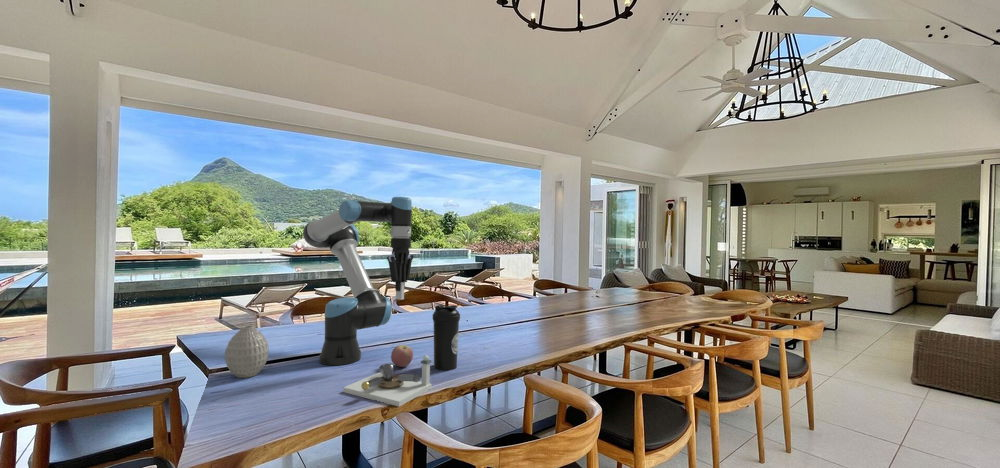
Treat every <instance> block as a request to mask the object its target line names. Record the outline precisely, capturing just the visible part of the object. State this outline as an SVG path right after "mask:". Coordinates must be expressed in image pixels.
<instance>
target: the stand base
mask: <svg viewBox="0 0 1000 468" xmlns="http://www.w3.org/2000/svg"><path fill="white" fill-rule="evenodd" d="M422 358H423V360H421V361H420V364H421V380H420V381H419V382H412V381H404V384H403V385H402V386H400V387H398V388H393V389H384V388H380V387H379V386H378V385H376V386H374V387H371V388H368V389H367V390H363V389H362V387H361V385H362V383H363V382H365V381H369V380H372V379H375V378H377V377H379V378H380V377H382V376H383V375H382V373H381V372H380V371H379V372H377V373H374V374H372V375H370V376H368V377H365V378H363V379H360V380H358V381H356V382H355V381H354V382H353V383H351V384H348V385H346V386H344V387H343V393H346V394H349V395H353V396H357V397H360V398H366V399H368V400H372V401H375V400H377V401H376V402H379V401H380V403H383V402H384V403H383V404H388V405H390V406H396V407H398V408H399V407H401V406H403V405H404V404H407V403H408V402H410V401H412V400H414V399H415V398H418V397H420V396H421V395H422V393H423V394H424V393H426V392H428V391H429V389H430V390H432V387H433V386H432V385H433V384H432V383H431V381H430V380H431V379H430V378H431V377H430V375H431V363H432V360H430V357H429V355H423V357H422Z"/></svg>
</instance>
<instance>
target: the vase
mask: <svg viewBox="0 0 1000 468" xmlns="http://www.w3.org/2000/svg"><path fill="white" fill-rule="evenodd" d="M269 351H270V349H269V343H268V340H267V338H266V337H265V335H264V334H263V333H262V332H261V331H259V330H258V329H257V328H256V327H255V326H254V325H251V324H250V325H243V326H241V327H240V328H239V330H238V331H237V332H236V333H234V335H233V336H232V337H231V338H230V340H229V341H228V343H227V345H226V348H225V354H224V359H225V360H224V361H225V364H226V367H227V369H229V372H230V373H231V374H232V375H233V376H235V377H236V378H238V379H247V378H251V377H255V376H257V375H258V374H260V372H261V371H262V370H263V369H264V367H265V365H266V363H267V362H268V358H269V353H270V352H269Z"/></svg>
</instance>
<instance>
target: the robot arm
mask: <svg viewBox="0 0 1000 468" xmlns="http://www.w3.org/2000/svg"><path fill="white" fill-rule="evenodd" d="M412 205H413V204H412V199H411V197H406V196H393V197H392V198H391V202H377V201H376V202H375V201H362V200H361V201H360V200H355V199H351V200H343V201H342V202H341V203H340V205H339V208H338V209H337V210H335V211H333V212H332V213H329V214H327V215H326V216H324V217H322V218H320V219H314V220H312V221H310V222H308V223H307V224H306V225H304V227H303V231H302V237H303V239H304V241H305V242H306V243H307V244H308V245H309V246H311V247H314V248H319V249H329V250H330V252H331V254H332V255H333V256H336V257H337V260H338V262H339V263H340V266H341V269H342V271H343V274H344V277H345V279H346V281H347V283H348V286H349V289H350V291H351V293H352V295H353V296H347V297H340V298H335V299H332V300H330V301H329V302H327V303H326V304H325V309H324V341H323V344H322V348H321V352H319V363H321V364H323V365H326V366H340V365H349V364H353V363H356V362H359V360H361V359H362V351H361V349H360V345H359V343H358V339H357V338H358V337H357V333H358V332H357V331H358V330H364V329H370V328H375V327H380V326H384V325H386V324H387V323H388V322H389V321H390V319H391V317H392V311H393V307H392V302H391V300H390V298H389V297H387V296H385V295H384V296H382V294H381V293H380V291H379V290H378V289H376V288H374V285H373V284H372V281H371V279H370V277H369V275H368V272H367V270H366V268H365V266H364V263H363V262H362V259H361V257H360V254H359V252H358V250H357V247H358V244H359V241H360V237H359V235H360V234H359V230H358V228H357V226H355V224H357V223H359V222H374V223H375V222H379V223H390V236H391V238H390V248H392V250H391V255H388V256H387V257H386V260H387V262H388V267H389V272H390V278H391V282H393V283H395V285H394V287H395V288H394V289H395V300H400V301H402V300H405V289H406V283H407V282H408V280H409V279H410V274H411V269H412V268H411V267H412V263H413V260H414V255H413V254H411V253H410V249H411V247H412V239H411V237H412V216H413V215H412V214H413V213H412V209H413V207H412Z"/></svg>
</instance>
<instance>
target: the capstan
mask: <svg viewBox="0 0 1000 468" xmlns="http://www.w3.org/2000/svg"><path fill="white" fill-rule="evenodd" d="M378 371H379V372H381V373H382V375H383V376H382V377H380V378H379V377H377V378H375V379H372V380H369V381H365V382H363V383H362V385H361V387H362V389H363V390H367V389H368V388H371V387H374V386H376V385H378V386H379V387H380V388H384V389H393V388H398V387H400V386H402V385H403V384H404V381H412V382H419V381H421V375H420V374H418V373H417V374H416V373H415V374H404V373H403V374H402V373H401V374H394V363H390V362H389V363H385V364H381V365H380V366H379V368H378Z"/></svg>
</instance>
